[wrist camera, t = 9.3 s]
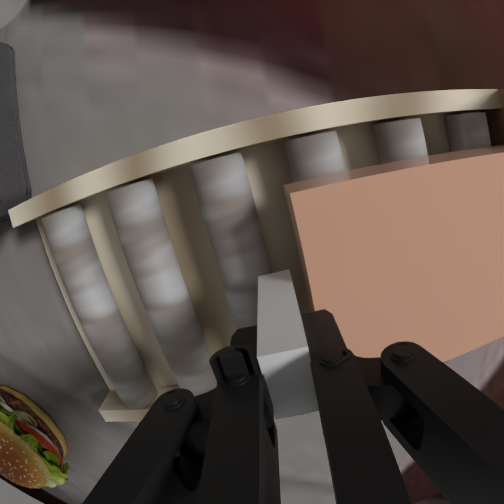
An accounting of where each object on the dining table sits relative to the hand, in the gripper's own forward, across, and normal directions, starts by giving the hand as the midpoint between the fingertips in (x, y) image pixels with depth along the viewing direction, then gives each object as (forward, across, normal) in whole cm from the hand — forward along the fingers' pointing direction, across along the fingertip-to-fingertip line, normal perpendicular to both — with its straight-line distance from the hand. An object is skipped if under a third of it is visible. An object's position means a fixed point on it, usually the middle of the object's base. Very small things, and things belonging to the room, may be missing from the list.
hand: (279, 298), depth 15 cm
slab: (+1, +8, 0) cm, 8 cm away
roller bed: (+5, +1, 0) cm, 5 cm away
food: (+5, -31, -13) cm, 34 cm away
